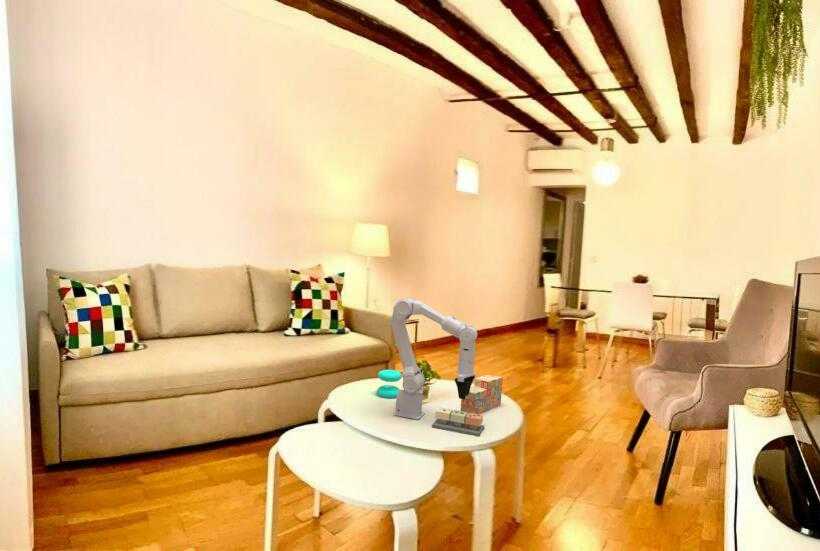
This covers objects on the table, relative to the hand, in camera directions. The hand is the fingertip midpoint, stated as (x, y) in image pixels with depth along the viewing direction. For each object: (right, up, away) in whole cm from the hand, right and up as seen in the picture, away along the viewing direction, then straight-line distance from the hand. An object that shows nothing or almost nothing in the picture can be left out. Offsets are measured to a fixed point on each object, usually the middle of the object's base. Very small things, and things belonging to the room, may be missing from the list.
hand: (463, 396), depth 186 cm
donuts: (-29, -7, +29) cm, 42 cm away
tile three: (+3, -8, -6) cm, 10 cm away
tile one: (-7, -7, -2) cm, 10 cm away
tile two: (-2, -7, -4) cm, 9 cm away
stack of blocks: (+9, -10, +19) cm, 23 cm away
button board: (-2, -10, -4) cm, 11 cm away
